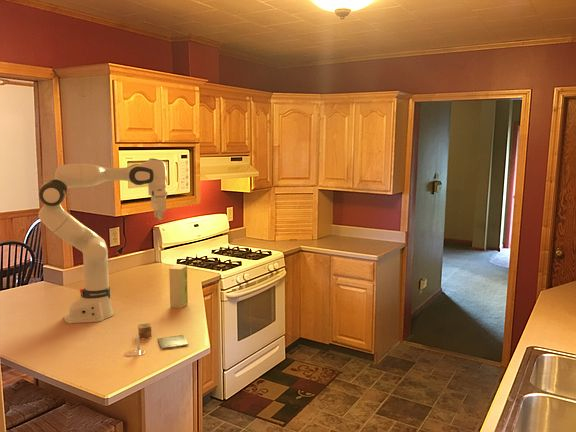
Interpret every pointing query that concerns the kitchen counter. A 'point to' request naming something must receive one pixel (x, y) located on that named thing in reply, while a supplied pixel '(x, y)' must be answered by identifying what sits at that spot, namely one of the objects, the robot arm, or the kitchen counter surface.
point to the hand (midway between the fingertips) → (158, 218)
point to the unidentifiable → (135, 352)
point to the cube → (144, 330)
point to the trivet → (172, 342)
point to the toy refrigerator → (178, 286)
